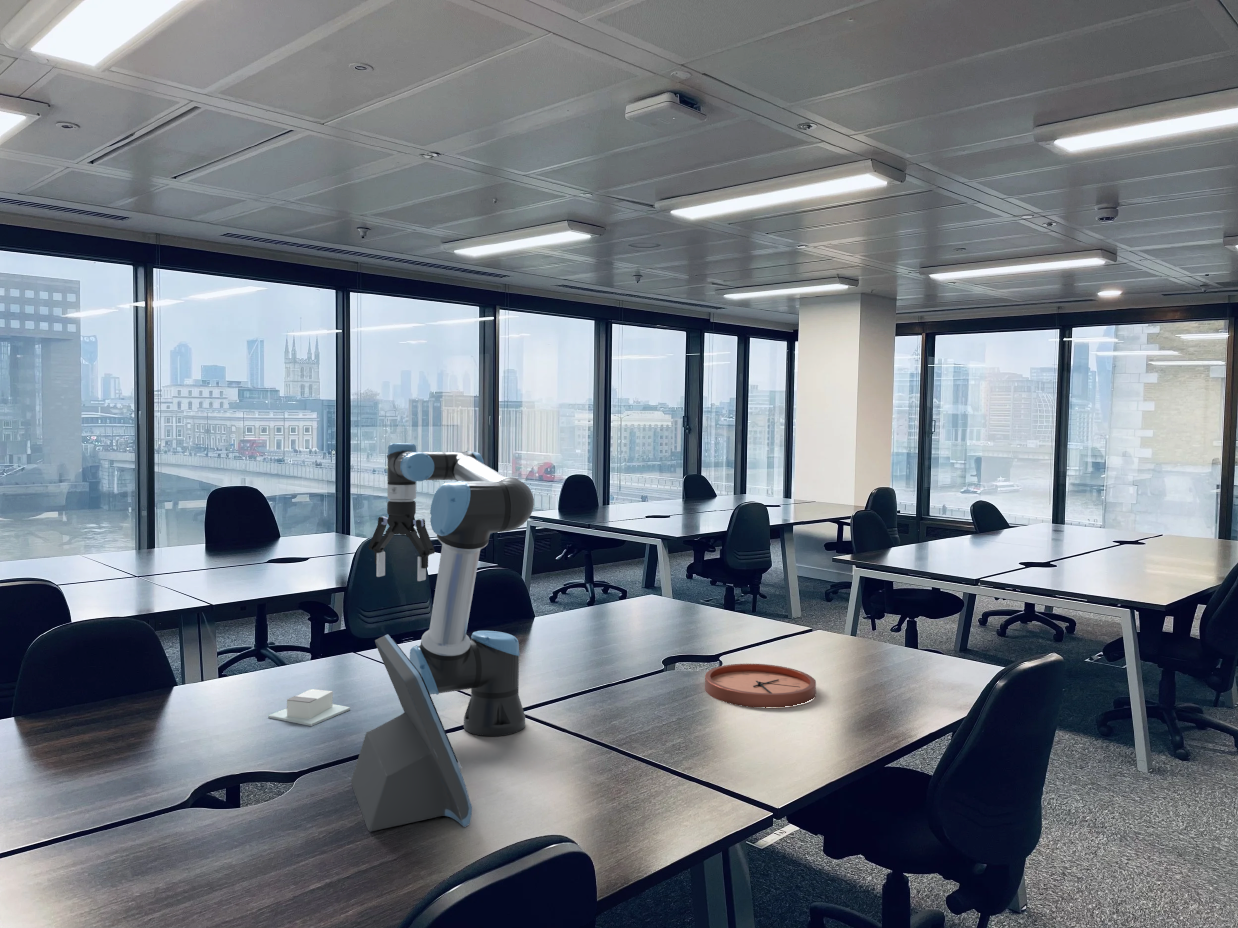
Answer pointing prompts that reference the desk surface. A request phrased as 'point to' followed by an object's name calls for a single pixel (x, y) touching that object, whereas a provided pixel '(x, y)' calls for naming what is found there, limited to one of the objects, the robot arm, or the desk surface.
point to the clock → (759, 685)
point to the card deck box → (309, 703)
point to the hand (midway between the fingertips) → (400, 578)
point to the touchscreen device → (408, 757)
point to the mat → (314, 720)
